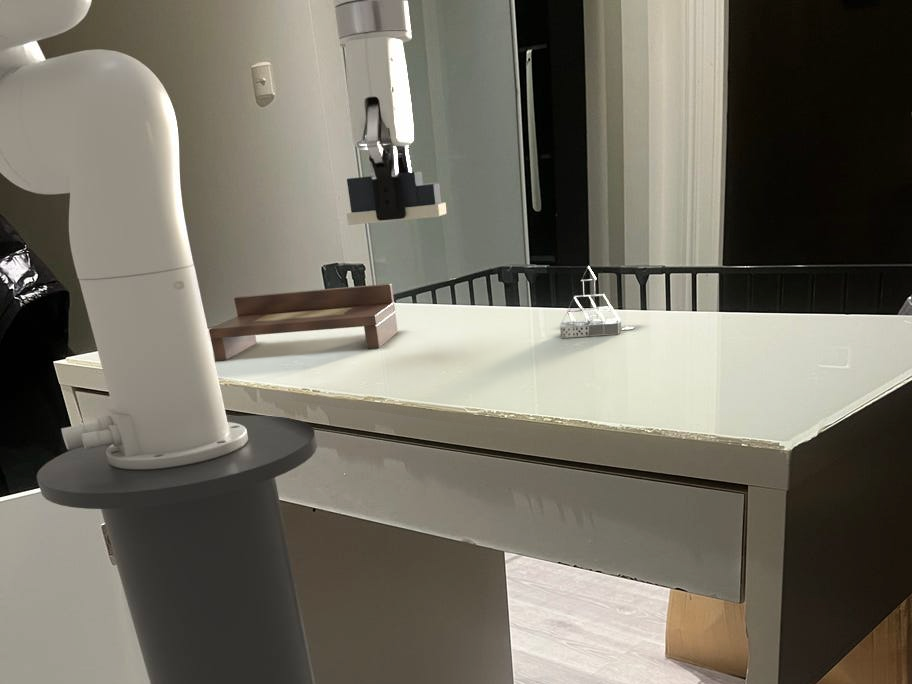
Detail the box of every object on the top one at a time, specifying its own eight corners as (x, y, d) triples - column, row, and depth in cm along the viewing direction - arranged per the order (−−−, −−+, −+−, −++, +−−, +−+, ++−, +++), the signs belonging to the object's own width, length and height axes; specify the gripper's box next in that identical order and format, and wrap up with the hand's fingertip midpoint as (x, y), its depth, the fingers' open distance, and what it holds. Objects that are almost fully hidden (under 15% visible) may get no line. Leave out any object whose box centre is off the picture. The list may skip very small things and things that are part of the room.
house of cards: (636, 321, 121) (635, 256, 117) (634, 333, 113) (632, 264, 110) (565, 326, 123) (562, 262, 119) (558, 338, 115) (555, 270, 112)
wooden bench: (215, 360, 124) (204, 309, 121) (246, 344, 135) (236, 296, 132) (379, 348, 121) (372, 295, 118) (397, 332, 132) (391, 283, 129)
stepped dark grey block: (347, 225, 106) (341, 179, 104) (358, 222, 110) (352, 178, 108) (439, 216, 104) (434, 169, 102) (446, 213, 108) (442, 168, 106)
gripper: (360, 39, 107) (382, 216, 115) (315, 21, 92) (344, 226, 100) (425, 30, 106) (443, 210, 114) (390, 11, 91) (414, 219, 99)
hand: (396, 215), depth 107 cm, fingers closed on stepped dark grey block, 4 cm apart
